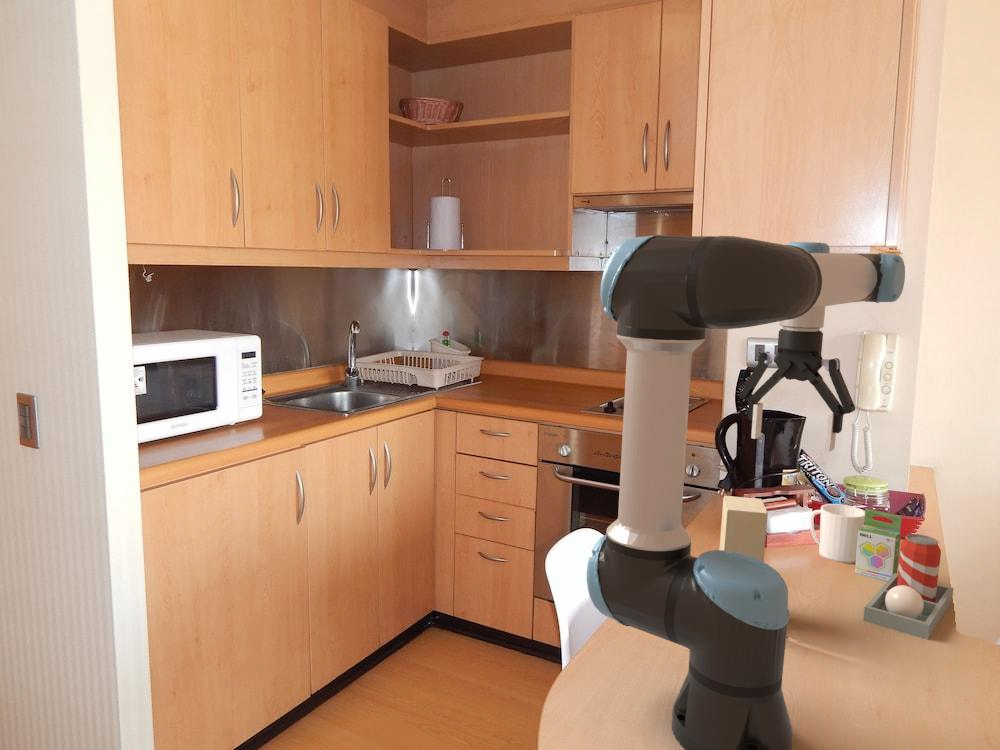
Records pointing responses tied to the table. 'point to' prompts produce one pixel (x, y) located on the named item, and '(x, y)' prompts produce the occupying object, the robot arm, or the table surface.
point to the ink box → (878, 546)
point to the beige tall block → (744, 526)
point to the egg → (904, 601)
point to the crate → (916, 627)
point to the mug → (838, 531)
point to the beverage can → (920, 565)
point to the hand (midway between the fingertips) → (791, 443)
